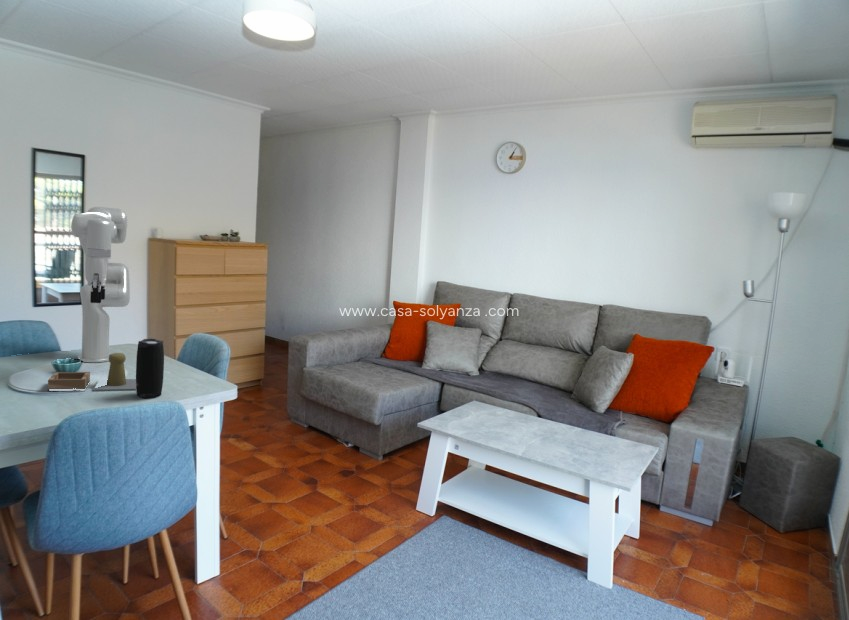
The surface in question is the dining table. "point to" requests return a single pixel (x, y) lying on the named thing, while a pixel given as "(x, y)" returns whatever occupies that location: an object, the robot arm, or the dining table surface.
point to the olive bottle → (116, 370)
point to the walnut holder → (69, 380)
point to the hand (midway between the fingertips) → (97, 301)
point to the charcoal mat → (128, 386)
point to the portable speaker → (149, 368)
